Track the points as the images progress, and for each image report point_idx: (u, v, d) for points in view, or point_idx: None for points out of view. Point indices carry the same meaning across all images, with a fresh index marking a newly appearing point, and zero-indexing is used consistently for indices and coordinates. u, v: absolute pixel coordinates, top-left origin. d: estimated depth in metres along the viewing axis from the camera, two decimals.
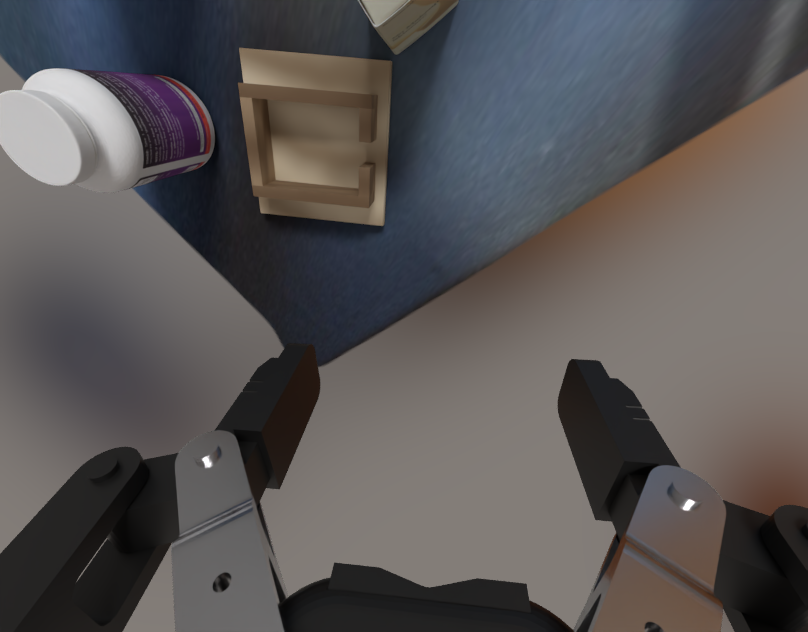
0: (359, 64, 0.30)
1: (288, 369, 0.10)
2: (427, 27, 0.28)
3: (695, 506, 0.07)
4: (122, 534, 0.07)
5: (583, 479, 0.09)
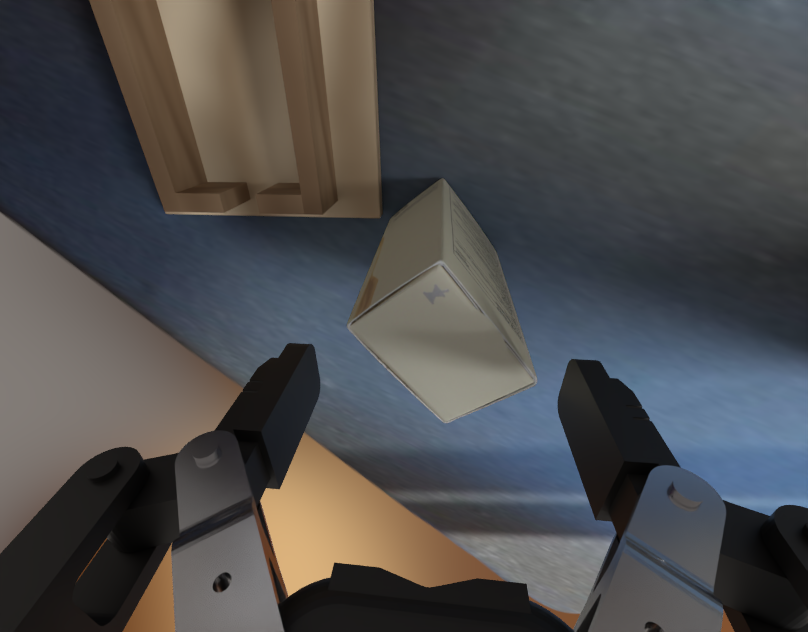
0: (370, 171, 0.20)
1: (288, 369, 0.10)
2: None
3: (695, 506, 0.07)
4: (122, 534, 0.07)
5: (582, 479, 0.09)
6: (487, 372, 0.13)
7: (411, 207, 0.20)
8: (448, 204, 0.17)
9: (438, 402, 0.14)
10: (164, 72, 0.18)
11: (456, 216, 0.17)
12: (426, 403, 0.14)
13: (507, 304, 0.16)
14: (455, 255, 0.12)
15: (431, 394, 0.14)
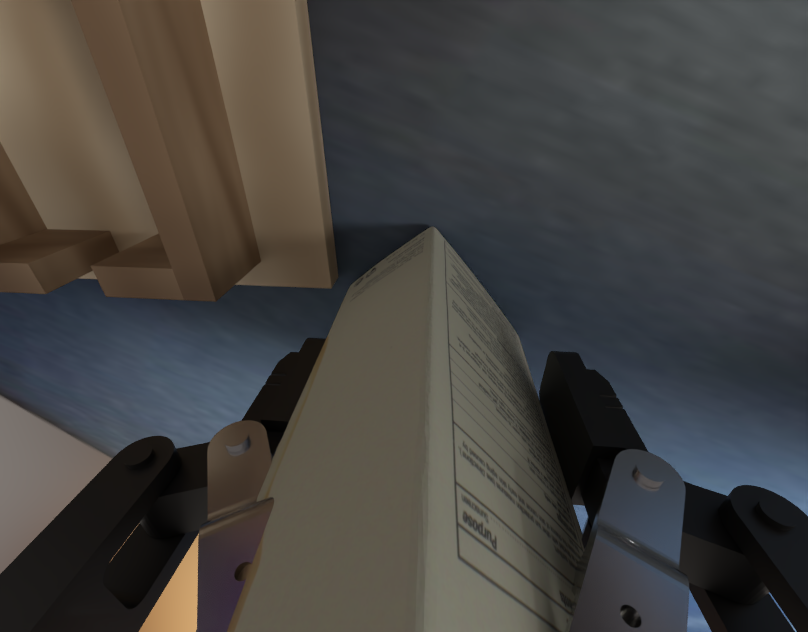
0: (309, 217, 0.12)
1: (309, 363, 0.10)
2: None
3: (656, 486, 0.07)
4: (153, 521, 0.08)
5: None
6: None
7: (379, 280, 0.12)
8: (442, 298, 0.09)
9: None
10: None
11: (458, 322, 0.09)
12: None
13: (566, 525, 0.08)
14: (462, 557, 0.04)
15: None
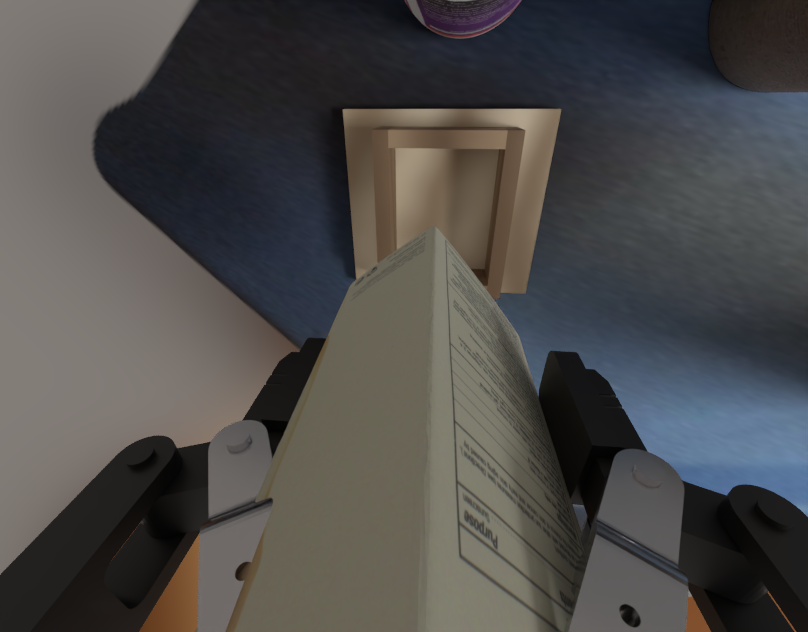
0: (525, 263, 0.28)
1: (310, 362, 0.10)
2: None
3: (655, 486, 0.07)
4: (154, 520, 0.08)
5: None
6: None
7: (380, 280, 0.12)
8: (443, 298, 0.09)
9: None
10: (394, 199, 0.25)
11: (459, 321, 0.09)
12: None
13: (566, 525, 0.08)
14: (464, 556, 0.04)
15: None
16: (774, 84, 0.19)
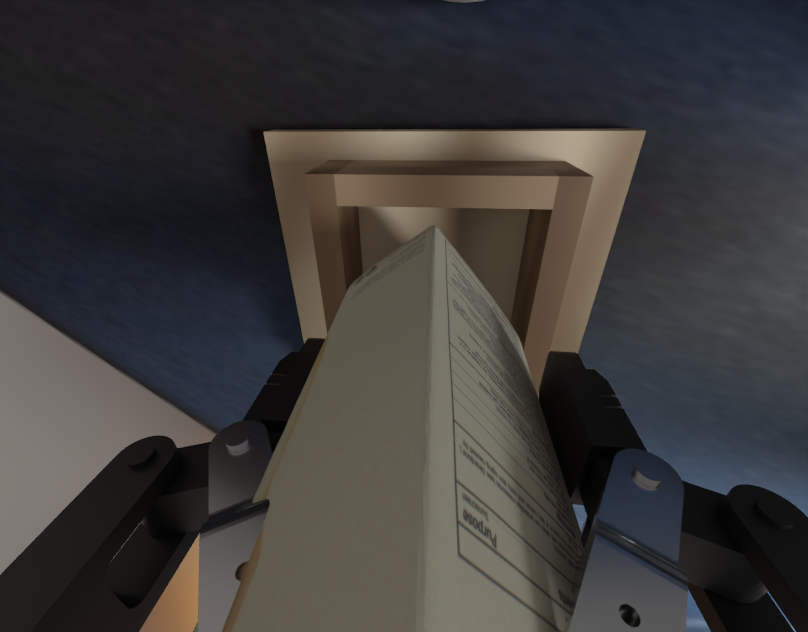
0: None
1: (310, 362, 0.10)
2: None
3: (655, 486, 0.07)
4: (154, 520, 0.08)
5: None
6: None
7: (379, 279, 0.12)
8: (443, 297, 0.09)
9: None
10: (358, 276, 0.16)
11: (458, 321, 0.09)
12: None
13: (566, 524, 0.08)
14: (463, 555, 0.04)
15: None
16: None
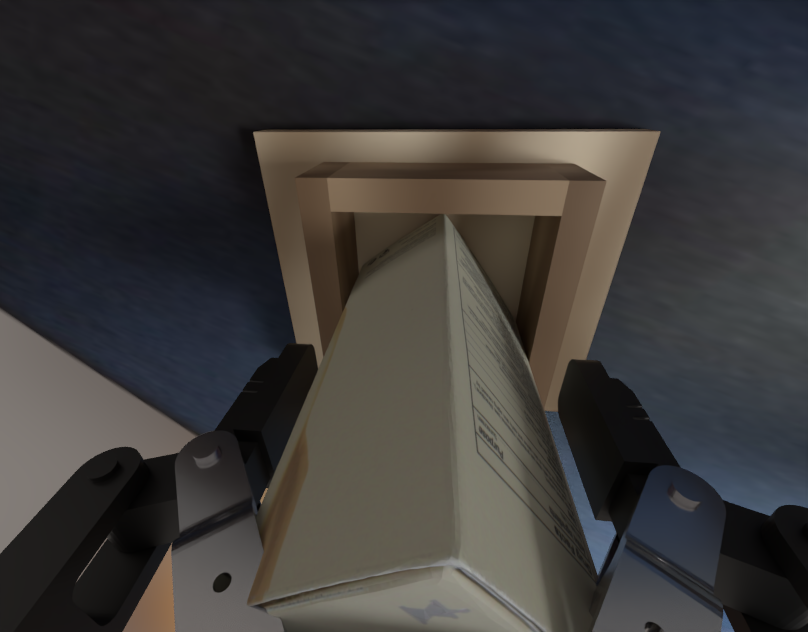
0: None
1: (288, 369, 0.10)
2: None
3: (695, 506, 0.07)
4: (122, 534, 0.07)
5: (583, 479, 0.09)
6: None
7: (393, 259, 0.13)
8: (455, 273, 0.10)
9: None
10: None
11: (467, 294, 0.10)
12: None
13: (555, 468, 0.09)
14: (480, 453, 0.05)
15: None
16: None
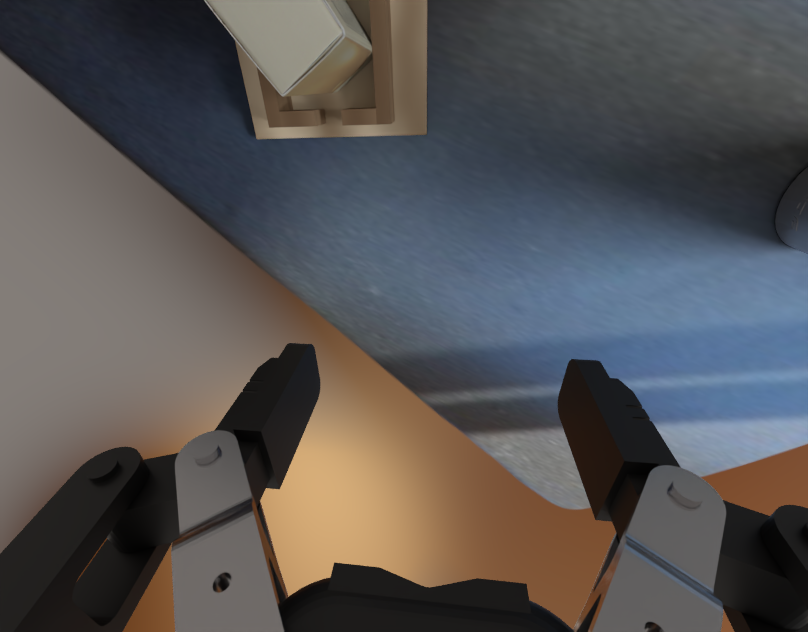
0: (420, 95, 0.27)
1: (288, 369, 0.10)
2: None
3: (695, 506, 0.07)
4: (122, 534, 0.07)
5: (582, 478, 0.09)
6: (302, 18, 0.16)
7: None
8: None
9: (271, 65, 0.17)
10: None
11: None
12: (263, 70, 0.17)
13: (346, 18, 0.19)
14: None
15: (264, 55, 0.16)
16: None
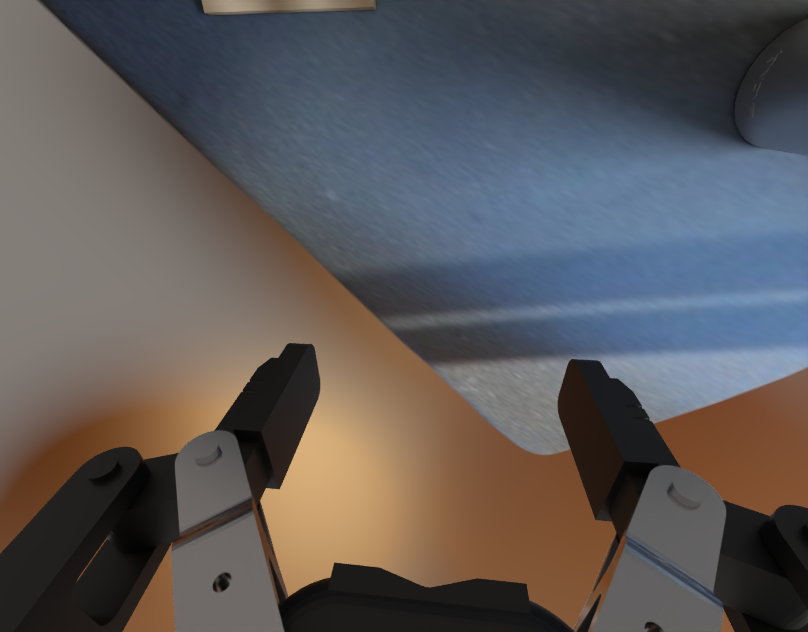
0: None
1: (288, 369, 0.10)
2: None
3: (695, 506, 0.07)
4: (122, 534, 0.07)
5: (582, 479, 0.09)
6: None
7: None
8: None
9: None
10: None
11: None
12: None
13: None
14: None
15: None
16: None
